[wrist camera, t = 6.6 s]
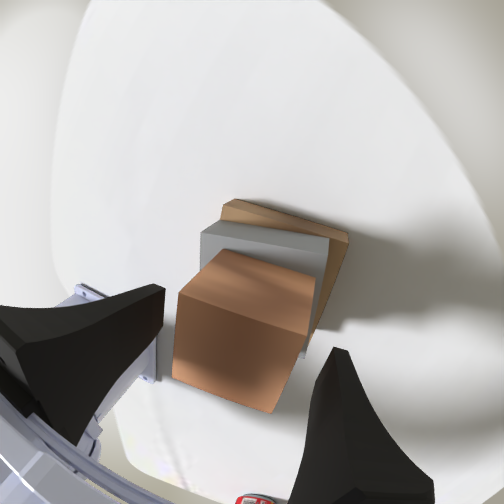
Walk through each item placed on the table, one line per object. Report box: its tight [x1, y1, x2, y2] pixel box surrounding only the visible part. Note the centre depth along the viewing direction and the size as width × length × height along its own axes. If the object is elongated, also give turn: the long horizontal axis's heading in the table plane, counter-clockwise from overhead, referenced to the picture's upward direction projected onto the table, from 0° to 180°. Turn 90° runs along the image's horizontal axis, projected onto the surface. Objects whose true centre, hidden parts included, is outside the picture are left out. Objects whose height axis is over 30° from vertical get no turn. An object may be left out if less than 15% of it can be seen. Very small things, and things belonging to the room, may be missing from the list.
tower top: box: [200, 220, 329, 359], centre depth 16 cm, size 6×6×2 cm
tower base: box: [220, 199, 349, 345], centre depth 18 cm, size 7×7×2 cm
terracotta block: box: [172, 249, 316, 414], centre depth 12 cm, size 4×4×4 cm
